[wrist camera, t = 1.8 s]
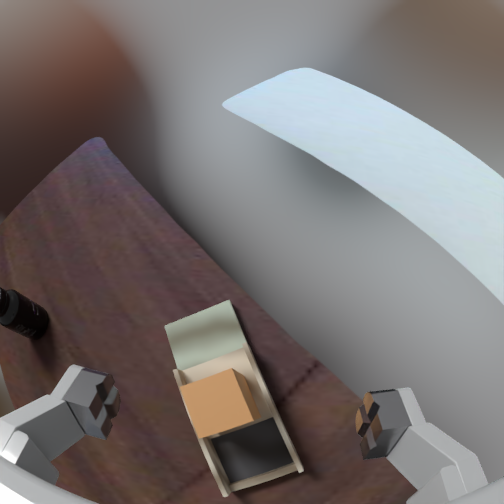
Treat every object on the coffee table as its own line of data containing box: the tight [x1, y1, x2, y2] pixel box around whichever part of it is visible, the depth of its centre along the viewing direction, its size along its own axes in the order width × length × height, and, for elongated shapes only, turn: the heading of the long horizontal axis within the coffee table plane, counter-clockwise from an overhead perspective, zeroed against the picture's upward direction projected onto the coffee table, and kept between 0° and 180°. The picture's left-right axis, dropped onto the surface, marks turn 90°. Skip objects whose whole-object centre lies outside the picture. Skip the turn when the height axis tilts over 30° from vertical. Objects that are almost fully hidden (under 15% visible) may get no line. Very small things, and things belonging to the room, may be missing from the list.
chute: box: [165, 300, 304, 497], centre depth 35 cm, size 25×10×4 cm, turn 22°
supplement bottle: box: [0, 287, 48, 340], centre depth 40 cm, size 7×7×12 cm
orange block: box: [180, 368, 261, 439], centre depth 31 cm, size 6×6×8 cm
